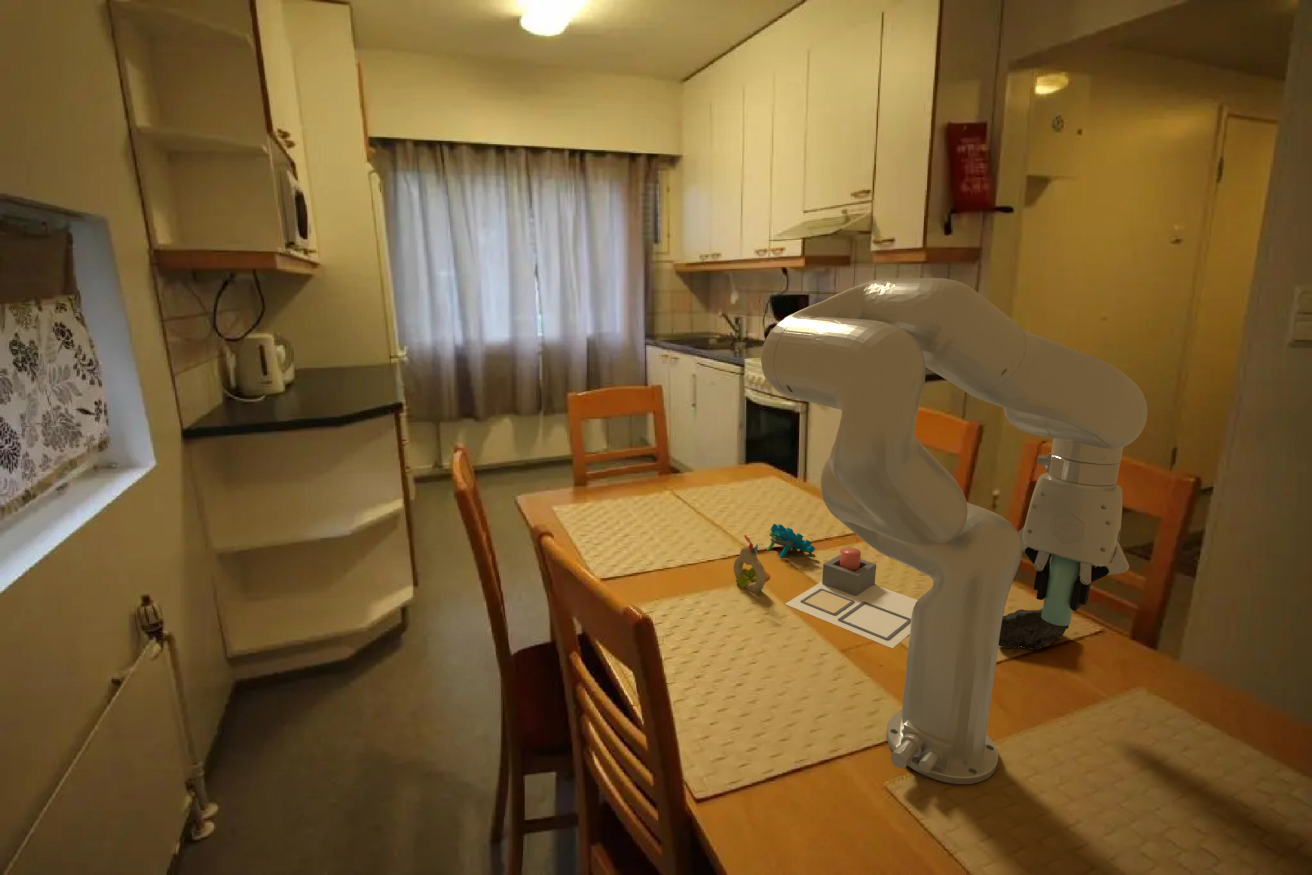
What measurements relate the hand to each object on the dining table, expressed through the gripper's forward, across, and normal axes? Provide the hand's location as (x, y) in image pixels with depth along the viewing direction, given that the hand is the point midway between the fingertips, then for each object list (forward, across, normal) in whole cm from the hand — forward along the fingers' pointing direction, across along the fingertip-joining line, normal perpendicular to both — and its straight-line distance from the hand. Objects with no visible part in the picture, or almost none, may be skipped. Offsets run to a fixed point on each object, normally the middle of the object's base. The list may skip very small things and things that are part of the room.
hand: (1058, 600), depth 87 cm
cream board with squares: (+14, -30, +4) cm, 33 cm away
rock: (+14, -6, +14) cm, 21 cm away
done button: (+12, -36, +10) cm, 39 cm away
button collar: (+14, -36, +10) cm, 40 cm away
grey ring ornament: (+15, -47, -2) cm, 50 cm away
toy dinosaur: (+15, -52, +15) cm, 56 cm away
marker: (+3, 0, 0) cm, 3 cm away
